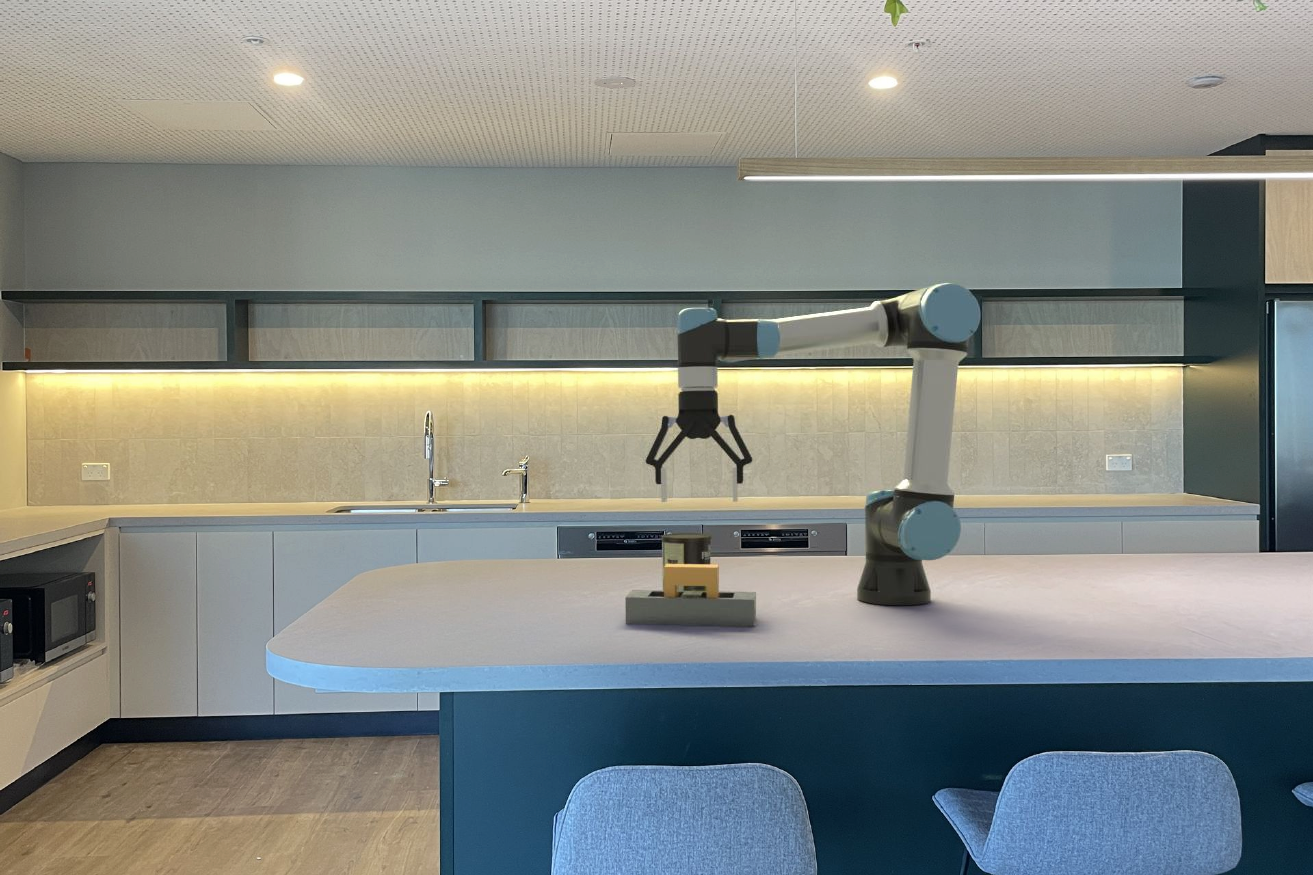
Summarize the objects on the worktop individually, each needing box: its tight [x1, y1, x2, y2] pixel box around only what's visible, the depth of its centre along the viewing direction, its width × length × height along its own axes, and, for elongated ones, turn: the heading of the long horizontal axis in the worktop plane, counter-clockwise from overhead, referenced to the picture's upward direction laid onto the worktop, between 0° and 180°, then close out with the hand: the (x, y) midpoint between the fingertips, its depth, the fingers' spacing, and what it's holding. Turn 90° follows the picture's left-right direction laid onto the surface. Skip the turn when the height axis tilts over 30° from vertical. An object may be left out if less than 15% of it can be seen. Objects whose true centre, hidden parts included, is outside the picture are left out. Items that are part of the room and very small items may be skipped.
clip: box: [664, 563, 720, 598], centre depth 203 cm, size 10×4×10 cm, turn 83°
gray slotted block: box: [624, 589, 757, 628], centre depth 203 cm, size 24×8×5 cm, turn 83°
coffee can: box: [661, 532, 712, 591], centre depth 223 cm, size 10×10×14 cm
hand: (699, 501), depth 204 cm, fingers open, 13 cm apart
